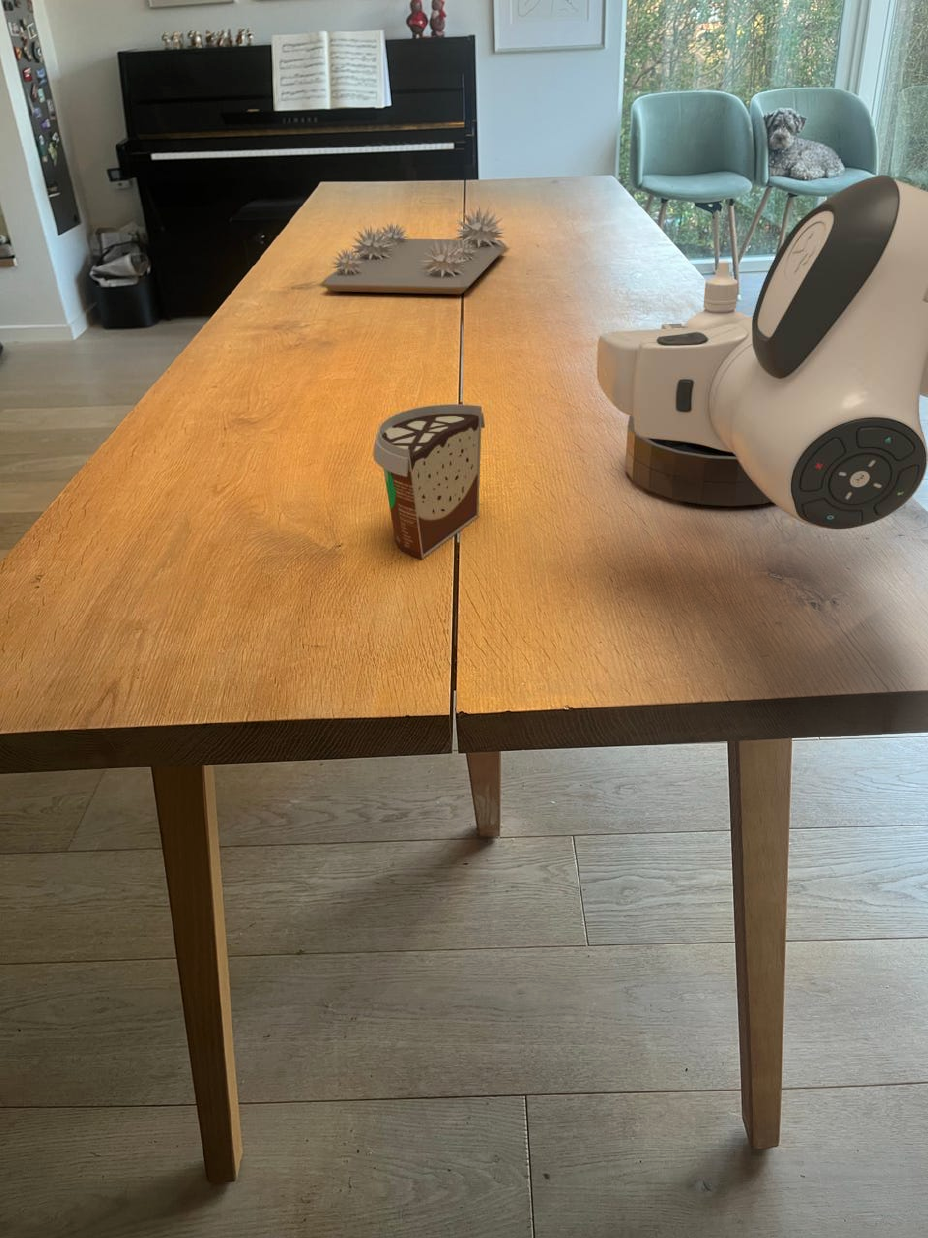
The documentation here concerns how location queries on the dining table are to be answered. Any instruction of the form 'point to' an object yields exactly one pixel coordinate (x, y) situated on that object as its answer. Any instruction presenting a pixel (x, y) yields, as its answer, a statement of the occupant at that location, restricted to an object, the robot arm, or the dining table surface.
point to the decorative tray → (418, 260)
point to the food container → (431, 473)
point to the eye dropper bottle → (718, 301)
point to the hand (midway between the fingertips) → (713, 331)
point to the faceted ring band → (689, 472)
